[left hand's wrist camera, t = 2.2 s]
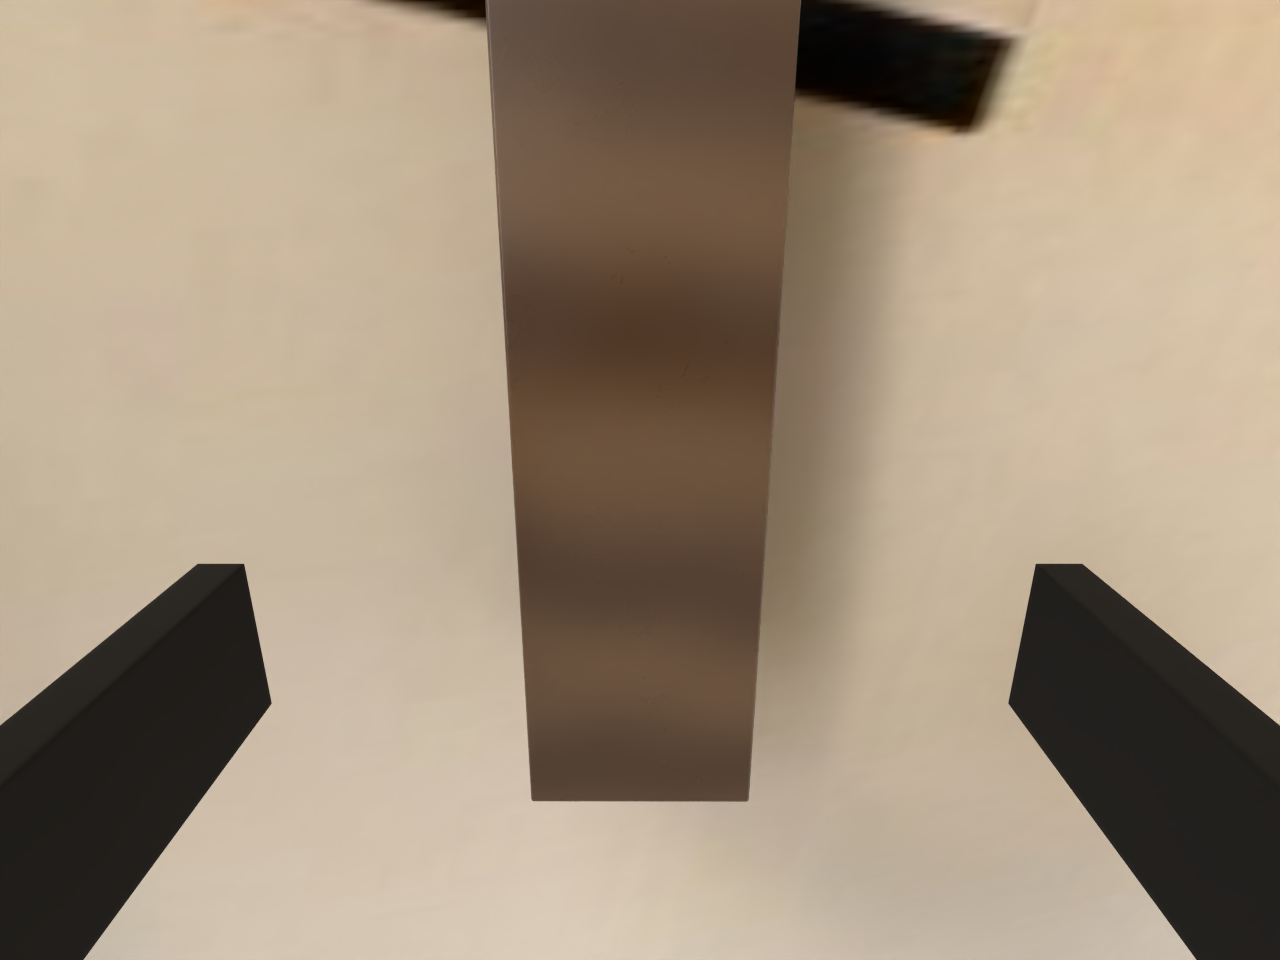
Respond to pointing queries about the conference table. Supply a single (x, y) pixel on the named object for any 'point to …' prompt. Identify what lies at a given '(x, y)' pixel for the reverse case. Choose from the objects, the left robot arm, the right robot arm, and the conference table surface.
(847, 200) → the conference table surface
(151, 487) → the conference table surface
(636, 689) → the bar
